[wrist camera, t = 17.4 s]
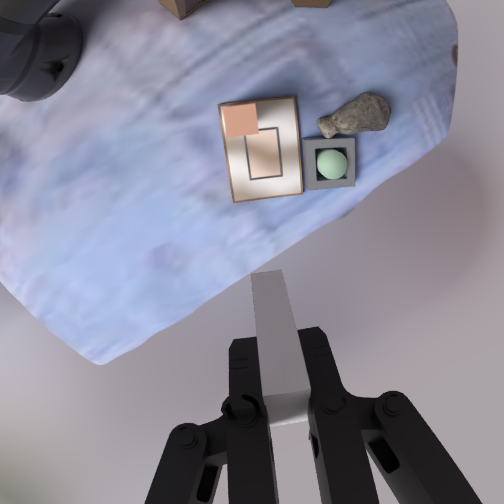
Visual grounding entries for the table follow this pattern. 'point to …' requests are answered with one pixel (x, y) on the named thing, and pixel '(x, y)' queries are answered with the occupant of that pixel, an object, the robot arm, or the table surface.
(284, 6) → the table surface
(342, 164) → the button
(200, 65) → the table surface
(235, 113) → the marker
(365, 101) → the stone
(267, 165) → the cream rectangular board
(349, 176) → the button housing
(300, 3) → the photo frame
